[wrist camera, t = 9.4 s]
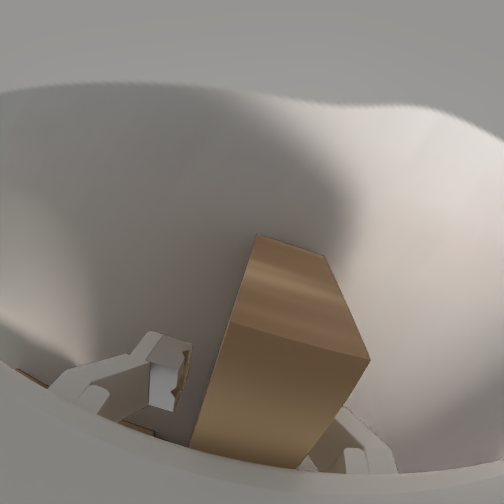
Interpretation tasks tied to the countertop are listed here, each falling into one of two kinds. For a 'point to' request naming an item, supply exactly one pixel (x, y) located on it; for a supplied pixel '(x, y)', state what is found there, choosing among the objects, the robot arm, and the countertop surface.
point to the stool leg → (280, 360)
